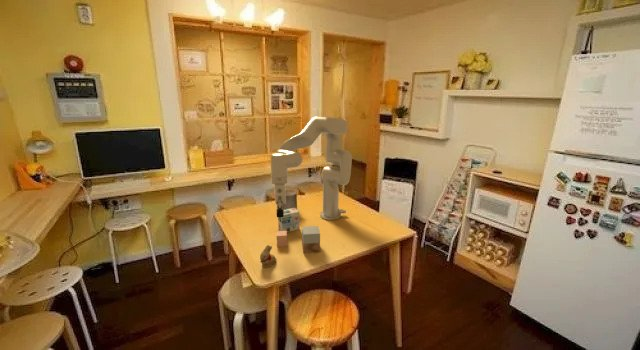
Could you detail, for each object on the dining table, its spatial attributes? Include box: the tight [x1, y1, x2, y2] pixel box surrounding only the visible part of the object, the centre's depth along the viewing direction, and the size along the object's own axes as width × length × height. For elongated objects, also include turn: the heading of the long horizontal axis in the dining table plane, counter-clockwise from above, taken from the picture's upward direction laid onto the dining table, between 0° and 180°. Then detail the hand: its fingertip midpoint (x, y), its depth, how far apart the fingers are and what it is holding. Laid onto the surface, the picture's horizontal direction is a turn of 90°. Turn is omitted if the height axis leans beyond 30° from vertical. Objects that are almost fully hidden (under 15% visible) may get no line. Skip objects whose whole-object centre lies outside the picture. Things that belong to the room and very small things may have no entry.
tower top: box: [301, 225, 321, 244], centre depth 139 cm, size 8×8×5 cm
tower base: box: [301, 237, 321, 254], centre depth 141 cm, size 8×8×5 cm
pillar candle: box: [283, 189, 298, 210], centre depth 180 cm, size 10×10×15 cm
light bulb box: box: [277, 208, 300, 233], centre depth 159 cm, size 11×7×11 cm, turn 117°
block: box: [276, 230, 288, 248], centre depth 144 cm, size 5×5×6 cm
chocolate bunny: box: [259, 244, 277, 269], centre depth 127 cm, size 6×8×10 cm
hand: (280, 213), depth 140 cm, fingers open, 9 cm apart
